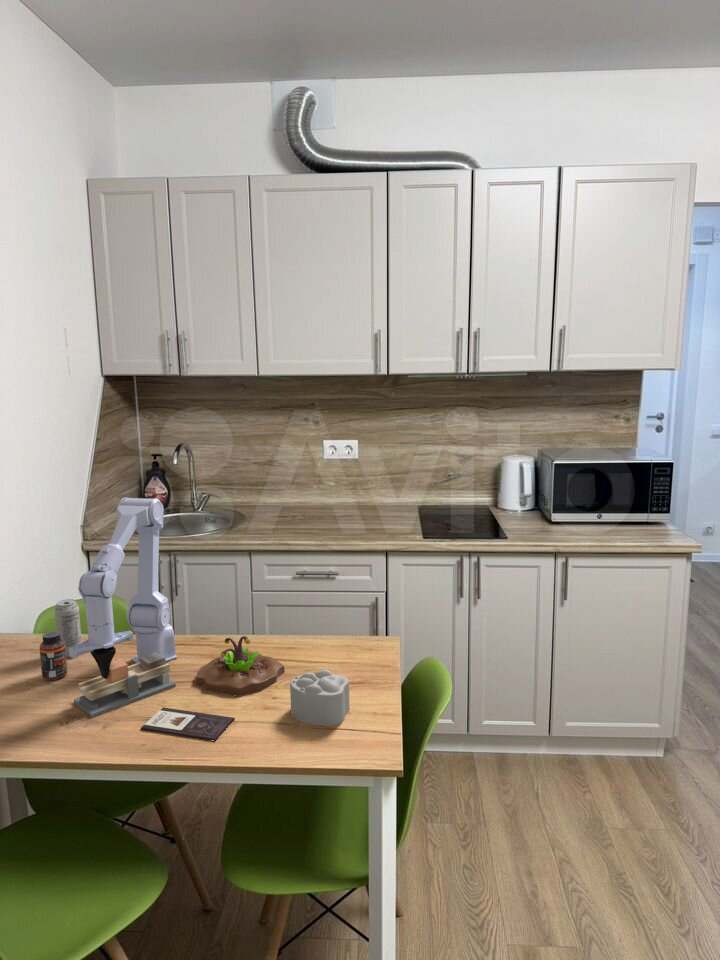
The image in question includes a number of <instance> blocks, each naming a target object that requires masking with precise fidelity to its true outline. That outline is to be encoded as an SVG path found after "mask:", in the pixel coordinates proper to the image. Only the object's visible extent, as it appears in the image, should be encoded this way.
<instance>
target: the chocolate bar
mask: <svg viewBox="0 0 720 960" xmlns="http://www.w3.org/2000/svg"><path fill="white" fill-rule="evenodd" d="M235 719H236V718H235V717H233V716H224V715H219V714H211V713H205V712H204V713H203V712H197V711H191V710H183V709H176V708H169V707H162V708H160V710H158V711H157V712H156V714H154V715H153V716H152V717H151V718H150V719H149V720H148V721H146V722H145V723H144V724H143V725H142V726H140V731H146V732H152V733H159V734H166V735H171V736H178V737H183V736H184V737H183V738H190V737H191V738H192V739H196V738H198V739H197V740H203V739H205V740H204V741H209V740H214V741H213V742H215V741H216V740H217V741H218V739H219V738H220V737H221V736H222V735H223V734H224V733H225V732H224V731H227V729H228V728H229V727H230V726H231V725H232V724H233V723H232V722H234V721H235ZM231 723H232V724H231ZM230 724H231V725H230ZM229 725H230V726H229ZM228 726H229V727H228ZM226 728H227V729H226ZM223 732H224V733H223ZM222 733H223V734H222ZM221 734H222V735H221ZM220 735H221V736H220ZM219 736H220V737H219ZM218 737H219V738H218ZM191 738H190V739H191ZM217 741H216V742H217Z"/></svg>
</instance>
